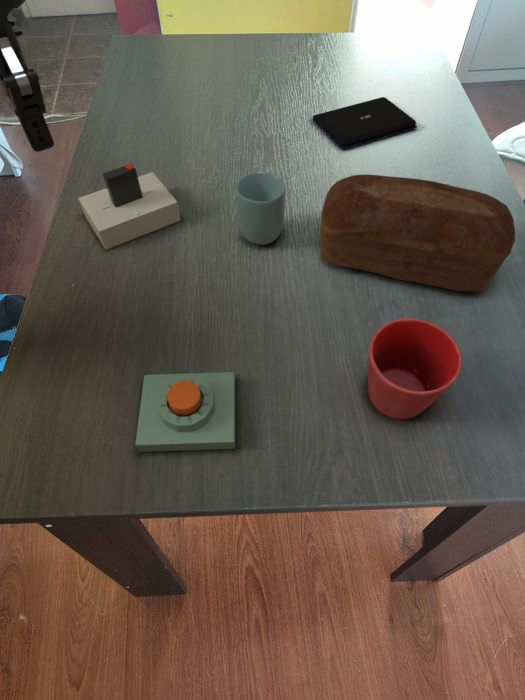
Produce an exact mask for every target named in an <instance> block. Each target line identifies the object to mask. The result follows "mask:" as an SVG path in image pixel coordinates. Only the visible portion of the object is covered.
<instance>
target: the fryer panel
mask: <svg viewBox="0 0 525 700" xmlns="http://www.w3.org/2000/svg"><path fill="white" fill-rule="evenodd" d="M138 180H139V184H140V188H141V192H142V196H143V197H142V198H140V199H137V200H135V201H132V202H129V203H127V204H124V205H121V206H119V207H115V206H114V205H113V203H112V202H111V198H110V195H109V192H108V189H107V187H106V188H103V189H100V190H97V191H94V192H91V193H89V194H86V195H83V196H80V197H78V198H77V199H78V202H79V205H80V207H81V209H82V213H83V214H84V217H85V218H86V220H87V222H88V223H89V225H90V227H91V228H92V230H93V232H94V233H95V236H97V238H98V240H99V241H100V243H101V245H102V246H103V248H104V249H105V250H106V251H107V250H109V249H112V248H114V247H117V246H119V245H122V244H124V243H127V242H129V241H132V240H135V239H137V238H140V237H142V236H144V235H148V234H150V233H152V232H155V231H158V230H160V229H162V228H165V227H167V226H170V225H172V224H175V223H178V222H180V221H181V216H180V210H179V205H178V201H177V200H176V199H175V198H174V196H173V195H172V194H171V193H170V191H169V190H168V189H167V187H166V186H165V185H164V184H163V182H162V181H161V180H160V179H159V177H158V176H157V175H156V174H155V172H154V171H152V172H149V173H146V174H143V175H140V176H138Z"/></svg>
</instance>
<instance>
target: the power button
mask: <svg viewBox="0 0 525 700" xmlns="http://www.w3.org/2000/svg"><path fill="white" fill-rule="evenodd" d="M167 399H168V402H169V405H170V408H171V410H172V411H173V412H174V413H176V414H178V415H181V416H187V415H191V414H193V413H195V412H196V411H197V410H198V409H199V408H200V406H201V403H202V398H201V393H200V389H199V387H198V386H197V385H196V384H195V383H193V382H191V381H180V382H177V383H175V384H174V385H173V386H171V388H170V389H169V391H168V394H167Z"/></svg>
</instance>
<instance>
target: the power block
mask: <svg viewBox="0 0 525 700" xmlns="http://www.w3.org/2000/svg"><path fill="white" fill-rule="evenodd" d="M235 373H236V372H235V371H227V372H226V371H225V372H224V371H223V372H195V373H194V372H190V373H189V372H188V373H160V374H144V375H143V380H142V381H143V382H142V388H141V389H142V391H141V397H140V404H139V405H140V406H139V413H138V421H137V429H136V436H135V444H134V445H135V447H136V449H137V451H138V452H139V453H149V452H150V453H151V452H153V453H154V452H177V451H179V452H182V451H208V450H209V451H210V450H235V449H236V374H235ZM180 381H191V382H193V383H195V384H196V385H197V386H198V387H199V389H200V393H201V398H202V403H201V406H200V408H199V409H198V410H197V411H196V412H195V413H193V414H191V415H187V416H181V415H178V414H176V413H174V412H173V411H172V410H171V408H170V405H169V402H168V399H167V394H168V391H169V389H170V388H171V386H173V385H174V384H175V383H177V382H180Z"/></svg>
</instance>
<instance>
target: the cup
mask: <svg viewBox="0 0 525 700" xmlns="http://www.w3.org/2000/svg"><path fill="white" fill-rule="evenodd" d="M235 186H236V187H235V203H236V205H235V206H236V217H237V222H238V228H239V230H240V233H241V235H242V236H243V238H244V239H245V240H246V241H248V242H249V243H251V244H254V245H259V246H265V245H269V244H272V243H273V242H275V241H276V240H277V239H278V237H279V236H280V235H281V233H282V230H283V226H284V222H285V213H286V202H287V201H286V200H287V199H286V198H287V187H286V186H287V185H286V182H285V180H284V179H283V178H282V177H280V176H279V175H277V174H276V173H272V172H268V171H253V172H249V173H246V174H245V175H243V176H242V177H241V178H240V179H239V180H238V181H237V183H236V185H235Z"/></svg>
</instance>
